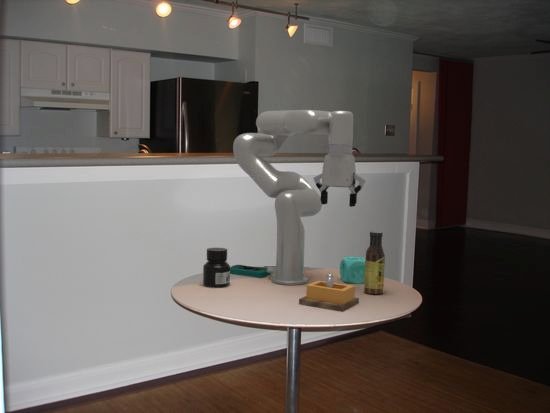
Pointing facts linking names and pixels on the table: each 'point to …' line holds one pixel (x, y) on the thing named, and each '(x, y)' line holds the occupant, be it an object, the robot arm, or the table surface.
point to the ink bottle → (216, 268)
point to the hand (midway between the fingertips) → (338, 205)
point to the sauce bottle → (374, 265)
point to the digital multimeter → (249, 271)
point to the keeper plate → (327, 304)
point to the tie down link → (330, 292)
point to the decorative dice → (352, 270)
